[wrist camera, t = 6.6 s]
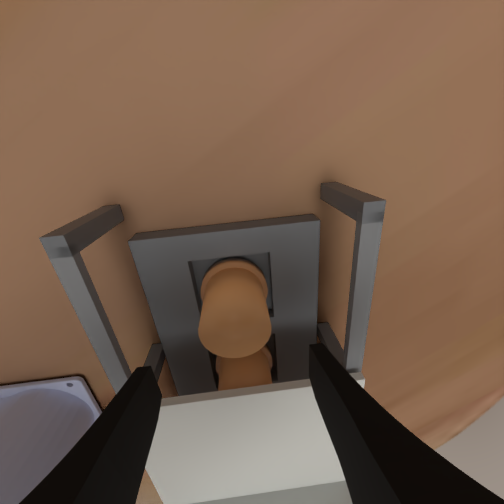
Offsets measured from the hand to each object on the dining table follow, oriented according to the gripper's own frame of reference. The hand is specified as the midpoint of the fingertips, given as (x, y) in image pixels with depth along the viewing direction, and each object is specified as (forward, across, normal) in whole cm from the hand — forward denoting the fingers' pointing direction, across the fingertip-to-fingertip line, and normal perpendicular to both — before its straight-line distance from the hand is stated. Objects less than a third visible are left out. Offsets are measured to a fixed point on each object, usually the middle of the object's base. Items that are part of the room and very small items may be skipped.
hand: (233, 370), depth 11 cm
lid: (+2, 0, +10) cm, 11 cm away
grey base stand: (+8, 0, +6) cm, 10 cm away
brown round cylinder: (+7, 0, 0) cm, 7 cm away
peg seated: (+7, 0, +7) cm, 10 cm away
